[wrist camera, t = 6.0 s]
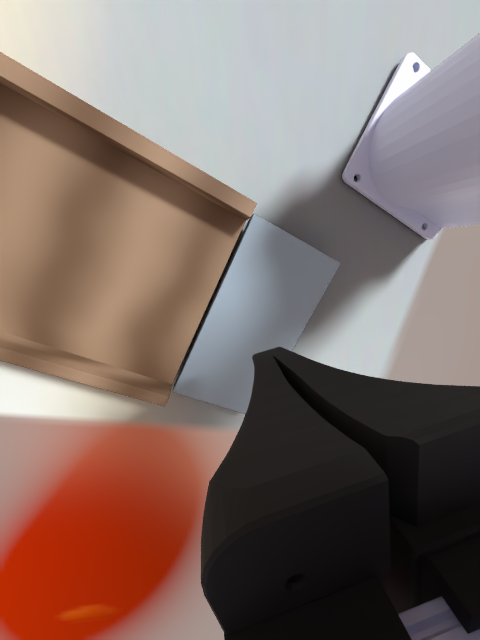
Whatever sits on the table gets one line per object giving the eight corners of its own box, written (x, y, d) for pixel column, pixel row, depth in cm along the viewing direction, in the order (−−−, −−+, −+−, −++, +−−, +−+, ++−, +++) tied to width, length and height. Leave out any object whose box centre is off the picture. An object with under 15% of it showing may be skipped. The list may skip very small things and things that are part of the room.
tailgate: (249, 216, 16) (330, 262, 17) (174, 381, 18) (251, 405, 20) (254, 213, 14) (340, 263, 16) (172, 392, 17) (254, 416, 19)
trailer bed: (245, 212, 16) (264, 197, 11) (171, 378, 19) (161, 422, 14) (-31, 56, 12) (-187, -74, 7) (-74, 301, 14) (-206, 327, 10)
